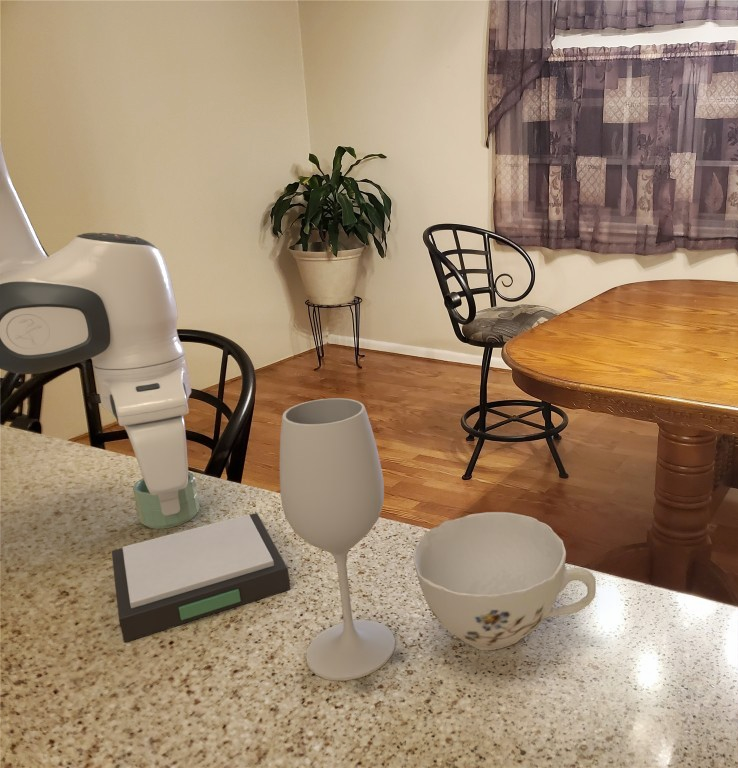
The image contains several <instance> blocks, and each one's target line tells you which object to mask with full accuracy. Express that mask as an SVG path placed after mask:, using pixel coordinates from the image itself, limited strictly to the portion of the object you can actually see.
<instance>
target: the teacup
mask: <svg viewBox="0 0 738 768" xmlns="http://www.w3.org/2000/svg"><path fill="white" fill-rule="evenodd" d="M566 559H567V551H566V548H565V544H564V540H563V539H562V538H561V537H559V535H558V534H557V533H556V532H555V531H554V530H553V529H552V526H550V525H548V524H547V523H545V522H542V521H539V520H538V519H537V518H535V517H532V516H527V515H524V514H518V513H514V512H507V511H506V512H505V511H486V512H479V513H472V514H468V515H465V516H463V517H462V516H461V517H458V518H455V519H449V520H445V521H443V522H441V523H440V524H439V525H438V526H435V527H432V528H431V529H429V530H428V531H426V532H425V533H424V534H423V536H421V537H420V538H419V540H418V543H417V545H416V547H415V549H414V553H413V565H414V569H415V572H416V576H417V580H418V583H419V586H420V590H421V592H422V594H423V597H424V599H425V601H426V603H427V605H428V607H429V609H430V611H431V612H432V614H433V615H434V617H435V618H436V619H437V621H438V622H439V623H440V624H441V625H442V626H443V627H444V628H445V629H446V630H447V631H449V632H450V633H451V634H452V635H453V636H455V637H456V638H458V639H460V640H462V642H463V643H465V644H467V645H470V646H471V647H473V648H474V649H476V650H480V651H495V650H499V649H503V648H507V647H510V646H513V645H515V644H517V643H518V642H519V641H521V639H523V638H525V637H526V636H528V635H530V634H531V633H532V632H534V630H535V629H536V628H537V627H539V626H540V624H542V623H543V621H544V620H545V619H546V618H550V617H560V616H567V615H568V616H570V615H573V614H577V613H579V612H581V611H582V610H583V609H586V607H588V606H589V605H590V604H591V603H592V601H593V600H594V599H595V598H596V590H597V589H596V588H597V587H596V586H597V585H596V577H595V576H594V574H593V573H592V571H590V570H589V569H587V568H584V567H570V568H566ZM573 581H579V582H582V583H583V584H584V585H585V587H586V591H587V593H586V595H585V596H583V597H582V598H580V600H578V601H576V602H572V603H570V604H565V605H562V606H559V607H553V606H554V604H555V603H556V600H557V598H558V596H559V594H561V592H563V591H564V590H565V589H566V587H567V586H568V585H569V584H570V583H571V582H573Z"/></svg>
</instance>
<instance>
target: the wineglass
mask: <svg viewBox="0 0 738 768" xmlns="http://www.w3.org/2000/svg"><path fill="white" fill-rule="evenodd" d="M279 437H280V438H279V493H280V499H281V506H282V510H283V513H284V514H283V515H284V517H285V519H286V521H287V522H288V523H287V524H289V526H290V528H291V529H292V530H293V532H294V533H295V534H296V535H297V536H298V537H300V538H301V539H302V540H303V541H305V542H306V543H308V544H309V545H310V546H313V547H315V548H317V549H320V550H322V551H324V552H326V553H330V555H331V556H332V557H333V558H334V561H335V564H336V567H337V568H336V569H337V578H338V586H339V594H340V603H341V604H340V605H341V612H342V619H343V622H339V623H336V624H335V625H332V626H330V627H328V628H326V629H324V630H323V631H322V632H320V633H318V634H317V635H316V636H315V637H314V638H313V639H312V640H311V642H310V644H308V647H307V649H306V653H305V659H306V665H307V666H308V668H309V671H311V672H312V673H313V674H314V675H316V676H318V677H320V678H321V679H324V680H330V681H350V680H351V681H352V680H357V679H359V678H362V677H365V676H369V675H371V674H372V673H375V672H376V671H378V670H379V669H380V668H382V667H383V666H385V665H386V664H387V663H388V661H389V660H390V659H391V658H392V656H393V653H394V652H395V649H396V639H395V634H394V633H393V631H391V629H390V628H389V627H388V626H386V625H385V624H384V623H381V622H378V621H375V620H370V619H353V611H352V604H351V595H350V594H351V593H350V585H349V584H350V583H349V576H348V567H347V563H348V554H349V552H350V550H352V549H353V548H354V547H355V546H356V545H357V544H359V543H360V542H361V541H362V540H363V539H364V538H365V537H366V536H367V535H368V534H369V533H370V531H372V529H373V527H375V525H376V524H377V522H378V520H379V519H380V515H381V513H382V510H383V506H384V502H385V501H384V499H385V483H384V475H383V470H382V466H381V465H382V463H381V459H380V455H379V450H378V447H377V443H376V438H375V435H374V431H373V428H372V425H371V421H370V418H369V415H368V412H367V409H366V407H365V405H364V403H362V402H361V401H358V400H356V399H350V398H343V397H338V398H337V397H336V398H335V397H334V398H333V397H332V398H320V399H314V400H309V401H305V402H301V403H299V404H295V405H293V406H291V407H289V408H287V409H286V410H284V412H283V414H282V417H281V424H280V436H279Z"/></svg>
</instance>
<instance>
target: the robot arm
mask: <svg viewBox="0 0 738 768" xmlns="http://www.w3.org/2000/svg"><path fill="white" fill-rule="evenodd" d="M7 167H8V166H7V164H6V160H5V156H4V152H3V146H2V141H1V139H0V370H1V371H5V372H8V373H12V374H18V375H19V374H20V375H38V374H43V373H47V372H51V371H55V370H59V369H63V368H66V367H68V366H72V365H76V364H79V363H82V362H84V361H87V360H90V359H91V362H92V367H93V368H92V369H93V372H94V377H95V382H96V386H97V389H98V394H99V399H100V405H101V407H102V408H103V409H105V410H106V411H108V412H110V413H111V414H112V415H113V417H115V419H116V422H118V425H119V426H120V427H123V428H124V430H125V432H126V433H127V437H128V439H129V441H130V444H131V447H132V449H133V453H134V456H135V459H136V461H137V464H138V468H139V470H140V472H141V476H142V479H144V481H145V484H146V486H147V488H148V490H149V492H150V494H152V495H158V497H159V500H160V505H161V509H162V513H163V514H164V515H166V516H167V515H171V514H175V513H178V512H179V511H180V504H179V499H178V490H181V489H184V488H186V486H187V484H188V472H189V462H188V460H189V459H188V447H187V435H186V424H185V418H184V416H186V415H188V414H189V413H190V407H189V397H190V396H191V394H192V387H191V381H190V375H189V369H188V365H187V364H188V363H187V356H186V353H185V348H184V345H183V344H182V342H181V340H180V338H179V334H178V318H179V312H178V307H177V301H176V296H175V291H174V287H173V281H172V278H171V275H170V271H169V267H168V265H167V262H166V260H165V257H164V255H163V253H162V252H161V250H160V249H159V248H157V247H156V246H155V245H154V244H153V243H152V242H150V241H148V240H146V239H144V238H141V237H138V236H131V235H129V234H119V233H109V232H85V233H84V232H83V233H82V234H77V235H76V236H75V237H73V239H72V240H71V241H69V243H67V244H66V245H64V247H62V248H61V249H59V250H57V251H56V252H54V253H52V254H51V255H49V254H48V252H47V251H46V250H45V248H44V246H43V245H42V243H41V241H40V239H39V237H38V234H37V232H36V231H35V228H34V225H33V224H32V222H31V219H30V218H29V215H28V212H27V211H26V208H25V207H24V205H23V202H22V200H21V198H20V196H19V194H18V192H17V189H16V187H15V185H14V183H13V181H12V179H11V176H10V174H9V170H8V168H7Z"/></svg>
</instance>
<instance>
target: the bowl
mask: <svg viewBox="0 0 738 768" xmlns="http://www.w3.org/2000/svg"><path fill="white" fill-rule="evenodd" d="M196 483H197V482H196V479H195V475H194V473H193V472H190V471H188V484H187V486H186V488H184V489H181V490H178V499H179V504H180V511H179V512H178V513H175V514H171V515H167V516H166V515H164V514H163V513H162V509H161V505H160V500H159V497H158V495H152V494H150V492H149V490H148V488H147V486H146V484H145V481H144V479H143V478H141V479H139V480H137V481H136V482H135V483H134V484H133V486H132V492H133V495H134V496H133V497H134V501H135V505H136V511H137V516H138V519H139V523H140V524H142V525H143V526H145V527H147V528H150V529H154V530H155V529H156V530H161V529H170V528H175V527H177V526H181V525H183V524H186V523H187V522H189V521H191V520H192V519H193V518H194V517H195V516H196V515H197V513H198V512H199V510H200V509H201V506H200V501H199V494H198V489H197V484H196Z"/></svg>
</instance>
